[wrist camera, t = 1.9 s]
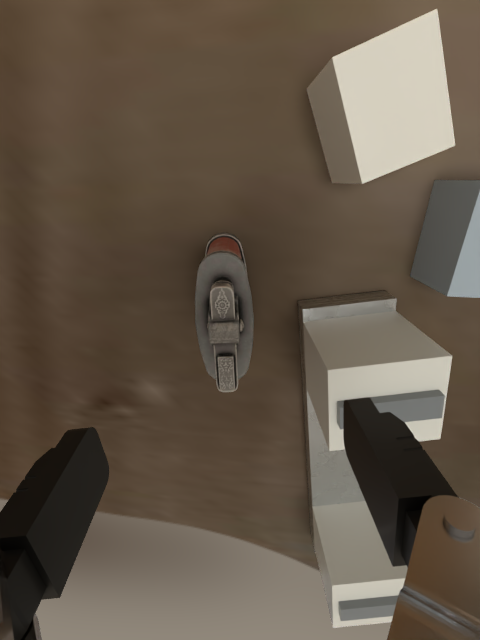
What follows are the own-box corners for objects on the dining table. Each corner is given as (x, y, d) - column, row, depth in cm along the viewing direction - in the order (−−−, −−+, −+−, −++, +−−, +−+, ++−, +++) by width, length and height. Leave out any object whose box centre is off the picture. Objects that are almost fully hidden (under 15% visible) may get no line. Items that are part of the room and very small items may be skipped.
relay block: (331, 183, 24) (362, 183, 18) (305, 89, 21) (332, 57, 16) (401, 153, 23) (455, 145, 18) (382, 54, 21) (437, 8, 15)
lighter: (200, 233, 25) (182, 265, 15) (246, 231, 25) (255, 262, 16) (208, 332, 28) (197, 408, 19) (249, 330, 28) (258, 405, 19)
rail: (310, 534, 38) (314, 552, 36) (297, 300, 27) (302, 309, 25) (372, 527, 38) (380, 545, 36) (385, 290, 27) (396, 298, 25)
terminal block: (409, 275, 26) (446, 296, 22) (433, 180, 24) (482, 180, 19) (458, 278, 27) (505, 298, 22) (488, 183, 24) (549, 184, 19)
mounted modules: (314, 546, 35) (334, 636, 28) (303, 321, 25) (330, 376, 18) (380, 539, 35) (417, 628, 28) (395, 310, 25) (458, 361, 18)
